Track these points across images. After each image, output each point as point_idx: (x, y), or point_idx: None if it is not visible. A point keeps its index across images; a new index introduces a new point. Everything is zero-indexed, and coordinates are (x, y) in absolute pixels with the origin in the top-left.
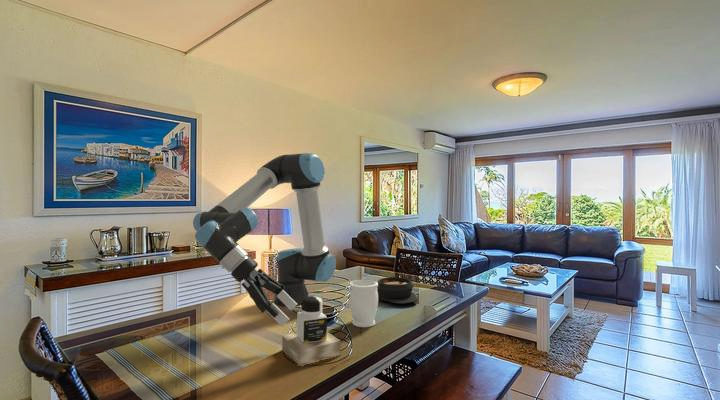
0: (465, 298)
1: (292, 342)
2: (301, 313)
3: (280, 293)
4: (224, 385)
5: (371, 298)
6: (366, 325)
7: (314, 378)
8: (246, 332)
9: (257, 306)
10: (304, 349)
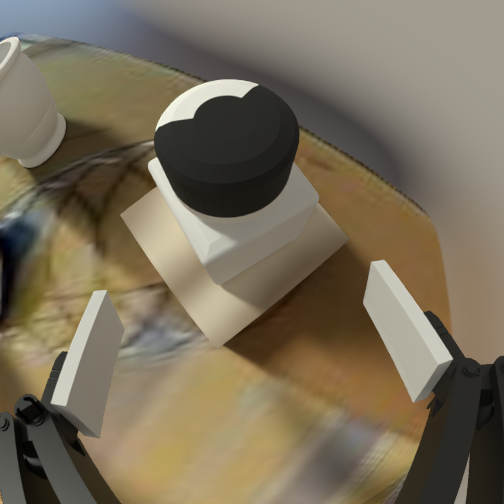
0: (8, 33)
1: (280, 286)
2: (233, 231)
3: (83, 415)
4: (428, 404)
5: (34, 64)
6: (63, 124)
7: (377, 199)
8: (108, 483)
9: (491, 416)
10: (331, 225)
